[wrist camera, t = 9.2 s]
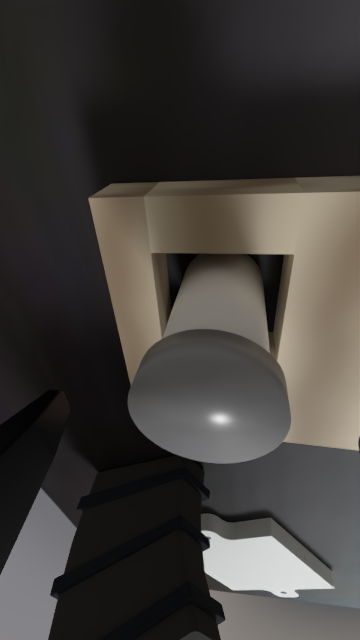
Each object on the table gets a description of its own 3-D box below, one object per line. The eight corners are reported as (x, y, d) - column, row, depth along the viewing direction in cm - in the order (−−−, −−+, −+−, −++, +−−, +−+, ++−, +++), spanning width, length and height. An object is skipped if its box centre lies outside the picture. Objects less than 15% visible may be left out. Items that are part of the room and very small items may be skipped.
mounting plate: (340, 575, 35) (345, 597, 33) (243, 578, 41) (243, 597, 40) (256, 500, 29) (256, 523, 27) (156, 518, 35) (151, 537, 33)
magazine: (64, 490, 30) (20, 738, 16) (174, 414, 29) (225, 605, 15) (90, 509, 31) (70, 749, 18) (195, 437, 31) (259, 629, 17)
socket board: (723, 163, 10) (869, 183, 8) (494, 428, 18) (531, 477, 16) (111, 183, 14) (84, 200, 11) (149, 395, 22) (137, 430, 19)
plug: (276, 239, 14) (304, 364, 7) (266, 324, 17) (279, 471, 10) (172, 239, 15) (114, 351, 8) (179, 320, 17) (139, 453, 11)
